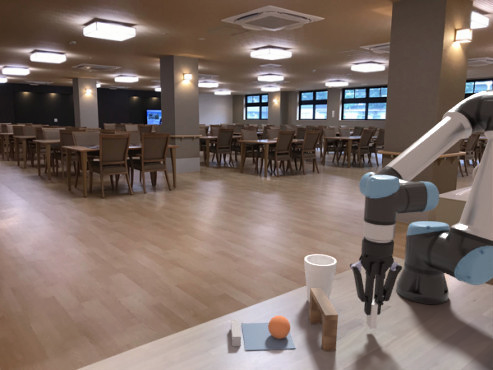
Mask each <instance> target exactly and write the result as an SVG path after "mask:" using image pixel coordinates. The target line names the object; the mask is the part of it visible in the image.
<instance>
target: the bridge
mask: <svg viewBox="0 0 493 370" xmlns="http://www.w3.org/2000/svg"><path fill="white" fill-rule="evenodd" d="M338 320H339V314H338V312H337V311H336V309H335V308H334V305H333V304H332V303H331V301H330V300H329V299H328V298H327V296H326V295H325V293H324V291H323V290H322V288H310V303H309V310H308V321H309V323H310V324H322V326H321V327H322V329H321V343H320V344H321V345H320V347H321V348H322V351H323V352H328V351H329V352H330V351H337V339H338V323H339V321H338Z"/></svg>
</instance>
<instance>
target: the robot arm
mask: <svg viewBox="0 0 493 370" xmlns="http://www.w3.org/2000/svg"><path fill="white" fill-rule="evenodd" d="M478 132H484V133H483V135H484V136H485V138H486V139H487V143H486V145H485V148H484V150H483V154H482V156H481V159H480V162H479V165H478V168H477V170H476V173H475V176H474V180H473V182H472V185H471V188H470V190H469V193H468V196H467V198H466V202H465V205H464V207H463V210H462V213H461V216H460V220H459V221H458V223H455V224H453V225H451V226H450V225H449V223H446V222H441V221H433V220H432V221H430V220H429V221H427V220H425V221H423V220H422V221H413V222H411V223H410V224H409V225H408V227H407V231H406V235H405V236H406V237H405V246H404V247H405V249H404V250H405V251H404V260H403V261H404V263H403V266H402V265H400V263H398V262H395V260H394V259H395V258H394V256H393V254H394V247H395V241H394V239H395V238H396V237H395V235H396V225H397V215H398V214H408V213H423V212H428V211H432V210H434V209H435V208H436V207H437V205H438V204H439V201H440V192H439V190H438V186H436V185H435V184H434V182H431V181H423V180H420V181H412V180H413V179H414V178H415V177H416V176H418V175H419V174H421V173H422V171H424V170H425V169H426V168H428V167H429V166H430V165H431V164H432V163H434V161H436V160H437V159H438V158H439V157H441V156H442V155H443V154H444V153H446V152H447V151H448V150H450V148H452V147H453V146H455V145H456V143H458V142H459V141H460V140H463V139H467V138H470V136H472V135H473V134H475V133H478ZM358 183H359V185H358V188H359V191H360V193H361V195H362V196H363V197H364V212H363V224H362V225H363V227H362V235H363V237H362V239H361V251H360V253H361V255H360V256H359V258H358V261H356V262H355V263H354V262H352V263H350V264H349V267H350V269H351V271H352V272H353V277H354V283H355V289H356V294H357V297H358V299H359V300H360V302H362V303H364V309H363V311H364V314H365V315H366V322H365V323H366V324H367V326H368V328H369V329H377V322H378V321H377V320H378V315H379V316H380V315H381V310H382V306H383V305H384V302H389V301H390V299H391V296H392V293H393V290H394V286H395V291H396V292H397V294H398V295H400V297H402V298H404V299H406V300H410V301H412V302H416V303H419V304H425V305H441V304H444V303H446V302H447V301H449V293H450V292H449V288H448V283H447V279H446V276H445V275H448V276H450V277H452V278H454V279H456V280H457V281H459V282H462V283H463V282H464V283H466V284H468V285H469V286H470V285H471V286H481V285H484V284H486V283H487V282H489V281H491V280H492V279H493V89H487V90H482V91H479V92H477V93H474V94H472V95H470V96H467V97H466V98H465V99H463V100H461V101H460V102H458V103H457V104H456V105H454V106H453V107H451V108H450V109H448V111H446V112H445V113H444V114H443V116H442V119H441V121H439V122H438V123H437V124H436V125H434V126H433V127H432V128H431V129H429V130H428V131H427V132H426V133H424V134H423V135H422V136H421V137H420V138H418V139H417V140H416V141H415V142H413V143H412V144H411V145H409V147H408V148H406V149H404V151H402V152H401V153H400V154H399V155H398V156H396V157H395V158H393V160H391V161H390V162H389V163H387V165H385V166H384V167H383V168H382V169H380V170H379V171H378V172H375V171H373V172H371V171H369V172H367V173H365V174H363V176H362V177H360V180H359V182H358ZM362 268H363V269H364V271H365V281H364V282H365V284H364V282H363V276H362V273H361V271H362ZM387 271H388V273H387ZM386 273H387V276H386ZM399 274H400V275H399ZM395 283H396V285H395Z"/></svg>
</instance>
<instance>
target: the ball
mask: <svg viewBox="0 0 493 370" xmlns="http://www.w3.org/2000/svg"><path fill="white" fill-rule="evenodd" d="M268 323H269V325H268V329H269V332H270V334H271V335H272V336H273V337H274V338H277V339H282V338H285V337H286V336H287V335H288V334H289V332H290V333H291V323H290V322H289V319H287V318H286V317H285V316H283V315H275V316H273V317H271V319H269V322H268Z"/></svg>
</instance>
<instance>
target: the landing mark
mask: <svg viewBox="0 0 493 370" xmlns="http://www.w3.org/2000/svg"><path fill="white" fill-rule="evenodd" d="M268 325H269V322H253V323H252V322H250V323H246V322H245V323H241V328H242V336H243V341H244V348H245V349H244V350H245V352H248V351H251V352H252V351H271V350H272V351H274V350H296V345H295V342H294V340H293V337H292V335H291V331H290V332H289V334H288V335H287V336H286V337H285V338H282V339H277V338H274V337H273V336H272V335H271V334H270V332H269V329H268Z"/></svg>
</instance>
